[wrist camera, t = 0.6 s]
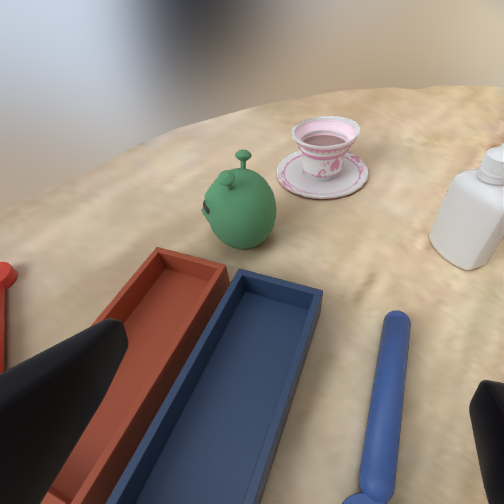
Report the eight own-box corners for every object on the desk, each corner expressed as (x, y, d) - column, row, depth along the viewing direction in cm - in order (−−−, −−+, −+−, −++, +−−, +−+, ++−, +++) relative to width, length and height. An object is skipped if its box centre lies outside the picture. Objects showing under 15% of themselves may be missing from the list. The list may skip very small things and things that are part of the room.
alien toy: (223, 214, 39) (208, 136, 32) (284, 225, 37) (283, 143, 30) (198, 255, 35) (174, 175, 28) (266, 270, 33) (259, 187, 26)
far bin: (92, 527, 20) (69, 522, 18) (6, 471, 22) (-23, 461, 20) (230, 284, 32) (226, 264, 30) (164, 265, 34) (156, 246, 32)
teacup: (307, 213, 38) (310, 166, 34) (261, 167, 46) (258, 124, 42) (388, 180, 41) (399, 134, 37) (331, 143, 49) (335, 101, 45)
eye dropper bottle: (470, 233, 34) (532, 120, 25) (487, 274, 30) (566, 157, 22) (425, 230, 35) (470, 120, 26) (436, 270, 31) (493, 156, 22)
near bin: (224, 613, 17) (215, 620, 15) (109, 538, 19) (87, 535, 17) (320, 310, 29) (323, 290, 27) (242, 287, 31) (238, 268, 29)
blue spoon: (373, 313, 28) (377, 300, 27) (418, 325, 27) (425, 312, 26) (327, 558, 18) (330, 558, 16) (396, 595, 17) (406, 598, 15)
